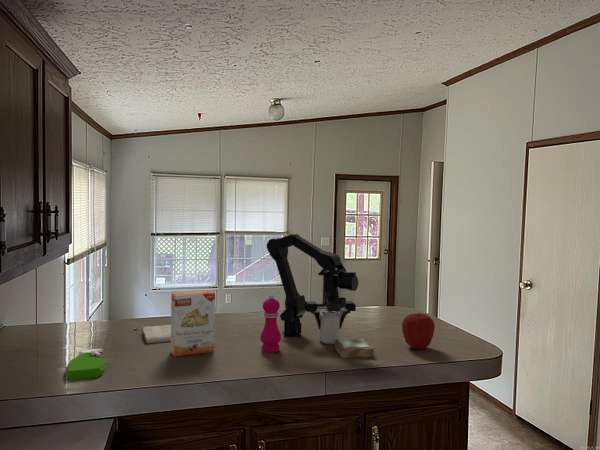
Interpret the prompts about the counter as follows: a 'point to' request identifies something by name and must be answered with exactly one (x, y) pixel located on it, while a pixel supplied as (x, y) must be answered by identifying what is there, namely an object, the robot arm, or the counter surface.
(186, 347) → the cracker box
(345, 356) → the plinth
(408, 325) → the apple
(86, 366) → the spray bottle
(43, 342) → the counter surface
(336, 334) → the can
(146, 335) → the washcloth
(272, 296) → the pepper mill
